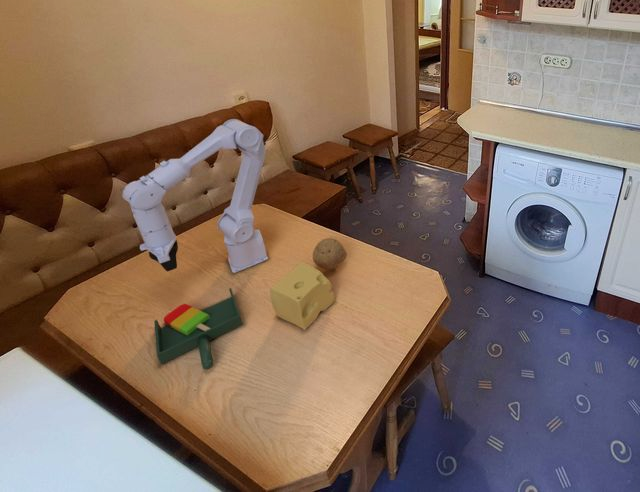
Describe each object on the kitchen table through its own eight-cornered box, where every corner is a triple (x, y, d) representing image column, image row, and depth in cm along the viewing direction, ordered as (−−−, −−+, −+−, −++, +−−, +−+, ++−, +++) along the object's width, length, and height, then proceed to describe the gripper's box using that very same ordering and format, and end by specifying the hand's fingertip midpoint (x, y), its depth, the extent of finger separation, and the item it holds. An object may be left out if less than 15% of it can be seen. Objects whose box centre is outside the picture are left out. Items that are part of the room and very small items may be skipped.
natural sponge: (309, 267, 107) (303, 240, 103) (335, 252, 114) (331, 226, 110) (324, 282, 102) (319, 255, 98) (351, 266, 108) (348, 239, 104)
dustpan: (158, 330, 87) (154, 320, 86) (233, 296, 97) (231, 287, 95) (164, 398, 73) (159, 388, 72) (251, 351, 83) (248, 341, 81)
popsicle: (186, 306, 93) (183, 301, 92) (226, 326, 88) (224, 321, 87) (162, 323, 88) (160, 318, 87) (204, 345, 83) (201, 340, 83)
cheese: (335, 301, 96) (331, 273, 92) (303, 333, 87) (296, 303, 83) (307, 288, 100) (301, 260, 96) (274, 317, 91) (266, 288, 87)
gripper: (133, 218, 90) (150, 260, 96) (133, 248, 80) (153, 292, 86) (168, 208, 94) (183, 248, 100) (172, 235, 84) (189, 278, 90)
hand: (171, 268), depth 93 cm, fingers closed
